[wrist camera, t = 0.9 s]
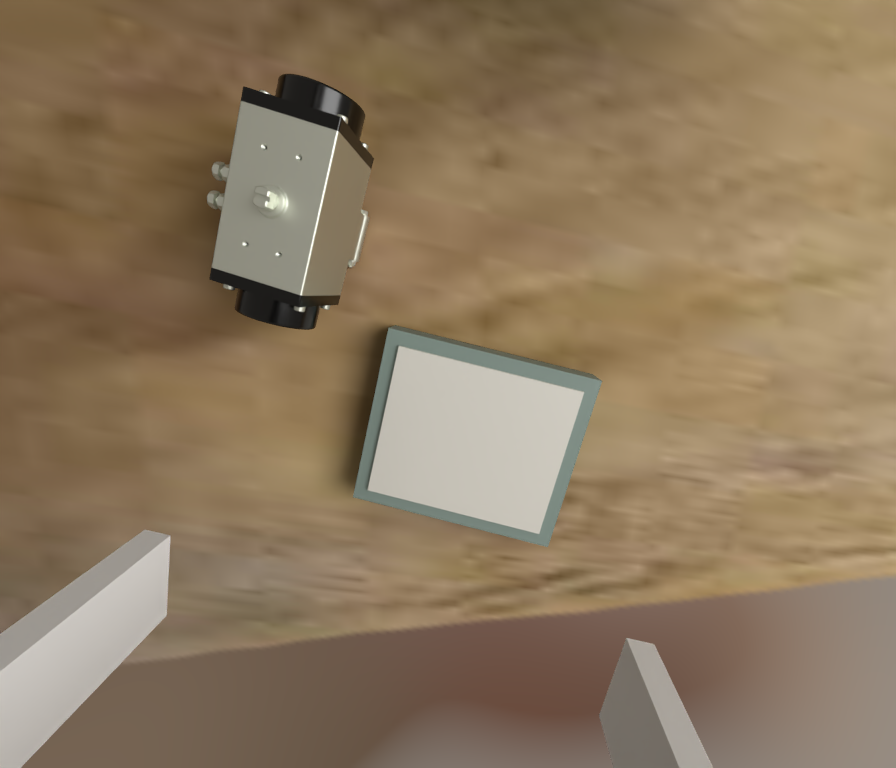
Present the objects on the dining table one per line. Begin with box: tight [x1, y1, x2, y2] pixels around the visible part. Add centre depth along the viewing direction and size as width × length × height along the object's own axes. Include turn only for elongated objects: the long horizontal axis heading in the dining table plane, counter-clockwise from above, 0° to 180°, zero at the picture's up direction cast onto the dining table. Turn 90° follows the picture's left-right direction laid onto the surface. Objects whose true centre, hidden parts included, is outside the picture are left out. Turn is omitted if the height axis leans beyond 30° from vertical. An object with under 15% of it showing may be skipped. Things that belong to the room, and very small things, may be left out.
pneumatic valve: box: [207, 74, 374, 330], centre depth 25 cm, size 6×12×12 cm, turn 163°
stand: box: [353, 325, 602, 547], centre depth 32 cm, size 13×15×3 cm
